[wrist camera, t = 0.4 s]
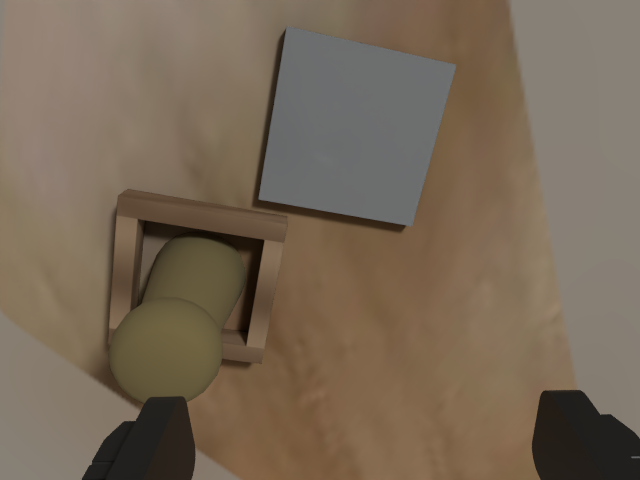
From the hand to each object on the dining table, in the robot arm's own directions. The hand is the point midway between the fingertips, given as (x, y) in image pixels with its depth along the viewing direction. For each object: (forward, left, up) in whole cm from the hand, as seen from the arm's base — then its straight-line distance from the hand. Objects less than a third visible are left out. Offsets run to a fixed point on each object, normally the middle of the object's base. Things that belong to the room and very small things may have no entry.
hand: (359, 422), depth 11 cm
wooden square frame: (+6, -6, -21) cm, 22 cm away
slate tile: (-5, +2, -21) cm, 21 cm away
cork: (+6, -6, -21) cm, 23 cm away
